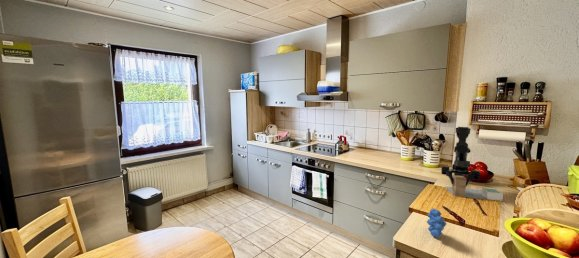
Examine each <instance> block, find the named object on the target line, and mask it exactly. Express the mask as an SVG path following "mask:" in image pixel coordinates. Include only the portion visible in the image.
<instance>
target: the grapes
mask: <svg viewBox="0 0 579 258" xmlns="http://www.w3.org/2000/svg"><path fill="white" fill-rule="evenodd" d="M427 217H428V219H426V220H427V221H426V224H428V228H427V230H428V231H429V232H430V235H431V236H432V237H433V238H439V237H441V236H442V235H443V232H442V231H444V229H445V227H446V226H447V222H446V221H445V220H444V218H443V217H442V213H441V211H440V210H439V209H436V208H432V209H430V210H429V213H428V214H427Z"/></svg>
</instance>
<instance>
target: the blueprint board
mask: <svg viewBox="0 0 579 258" xmlns="http://www.w3.org/2000/svg"><path fill="white" fill-rule="evenodd" d="M444 187H445V189H446V190H447V191H448V192H449V193H450V194H451V195H452V196H453V197H455V196H454V195H453V194H452V186H444ZM457 197H459V196H457ZM464 198H470V199H481V200H490V201H499V202H502V203H504V200H503V198H504V193H502V192H501V191H500V190H498V189H495V188H487V187H486V188H484V187H482V188H481V189H474V188H467V187H466V188H465V197H464Z"/></svg>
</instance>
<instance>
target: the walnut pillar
mask: <svg viewBox="0 0 579 258" xmlns="http://www.w3.org/2000/svg"><path fill="white" fill-rule="evenodd" d="M452 176H453V184H452V183H451V187H452V194H453V195H454V196H453V195H452V194H451V195H452V196H453V197H458V196H459V197H461V198H466V197H465V188H466V189H467V187H466V181H467V177H465V175H464V176H457V175H454V174H452Z"/></svg>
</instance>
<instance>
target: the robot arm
mask: <svg viewBox="0 0 579 258" xmlns="http://www.w3.org/2000/svg"><path fill="white" fill-rule="evenodd" d="M455 134H456V138H457V139H458V141H457V142H456V145H455V146H454V150H453V152H454V153H455V159H454V161H453V163H452V168H450V166H441V173H440V174H441V175H444V176H446V177H448V178H449V180H450V183H451V185H452V184H453V175H457V176H464V177H465V176H466V188H467V186H468V184H469V183H470V182H471V181H473V180H480V177H481V172H480V170H477V169H476V170H474V169H471V171H469V168H470V167H471V161H470V160H468V159H467V158H468V154H470V153H471V152H472V151H471V148H470V147H469V143H467V139H468V138H469V136H470V134H471V128H469V127H468V126H458V127H455Z"/></svg>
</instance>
